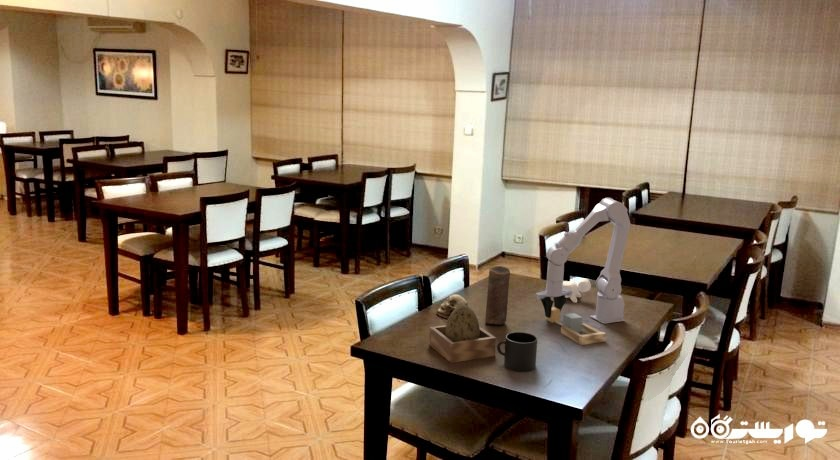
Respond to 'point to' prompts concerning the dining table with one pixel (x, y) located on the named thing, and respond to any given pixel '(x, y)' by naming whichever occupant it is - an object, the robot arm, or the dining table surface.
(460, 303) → the skull
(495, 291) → the candle
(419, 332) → the dining table surface
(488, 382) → the dining table surface
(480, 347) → the square wooden tray
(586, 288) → the white animal figurine
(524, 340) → the mug
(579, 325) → the tethered block
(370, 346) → the dining table surface
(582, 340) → the lane
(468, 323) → the decorative egg
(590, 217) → the robot arm
